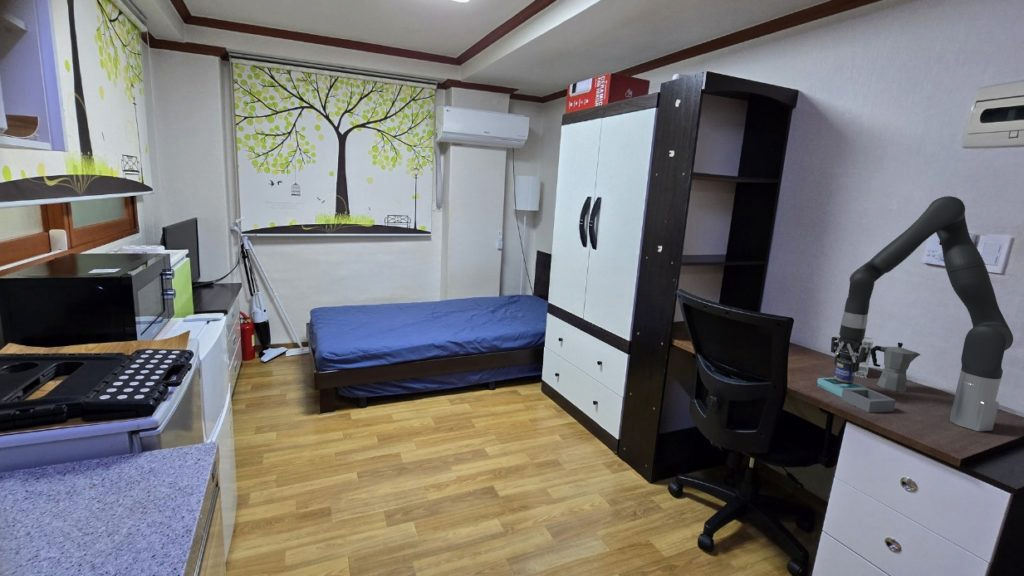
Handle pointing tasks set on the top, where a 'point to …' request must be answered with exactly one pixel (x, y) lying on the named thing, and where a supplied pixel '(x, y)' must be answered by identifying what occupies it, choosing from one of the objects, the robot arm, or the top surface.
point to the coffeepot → (894, 366)
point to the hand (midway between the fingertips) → (845, 368)
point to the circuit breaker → (865, 365)
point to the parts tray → (836, 386)
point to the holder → (868, 400)
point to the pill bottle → (844, 369)
